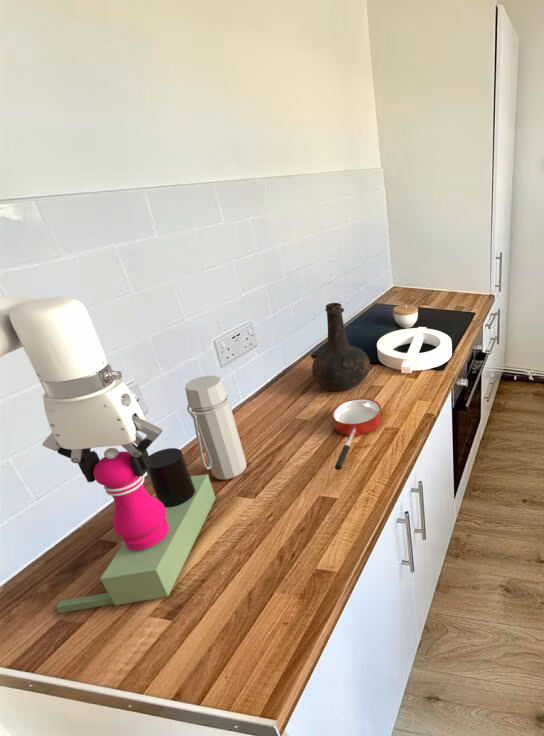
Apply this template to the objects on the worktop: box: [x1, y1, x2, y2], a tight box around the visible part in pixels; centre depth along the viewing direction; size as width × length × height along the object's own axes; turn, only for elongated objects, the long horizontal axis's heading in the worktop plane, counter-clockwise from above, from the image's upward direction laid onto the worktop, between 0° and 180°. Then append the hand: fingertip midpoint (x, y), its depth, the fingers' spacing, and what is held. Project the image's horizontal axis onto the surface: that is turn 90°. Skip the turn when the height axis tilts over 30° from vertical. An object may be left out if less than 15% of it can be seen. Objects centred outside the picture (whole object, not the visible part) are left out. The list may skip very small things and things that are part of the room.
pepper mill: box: [93, 447, 169, 550], centre depth 74 cm, size 7×7×20 cm
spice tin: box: [145, 447, 195, 507], centre depth 86 cm, size 6×6×10 cm
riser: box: [55, 473, 216, 614], centre depth 83 cm, size 16×24×7 cm, turn 14°
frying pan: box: [332, 397, 383, 471], centre depth 116 cm, size 32×13×6 cm, turn 14°
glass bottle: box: [311, 302, 371, 392], centre depth 138 cm, size 18×18×28 cm
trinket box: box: [392, 304, 419, 329], centre depth 190 cm, size 11×11×9 cm
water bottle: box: [184, 375, 247, 481], centre depth 99 cm, size 9×8×25 cm
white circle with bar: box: [376, 326, 453, 374], centre depth 166 cm, size 28×28×5 cm
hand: (120, 472), depth 72 cm, fingers closed on pepper mill, 6 cm apart
